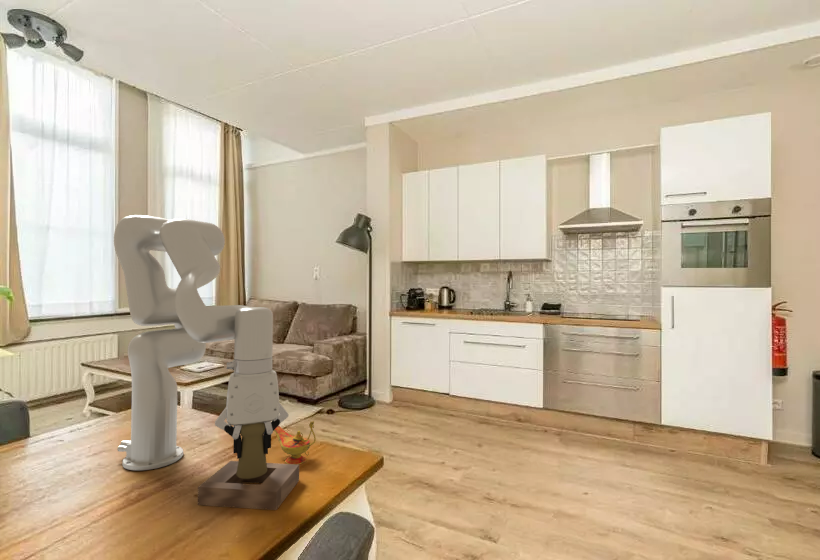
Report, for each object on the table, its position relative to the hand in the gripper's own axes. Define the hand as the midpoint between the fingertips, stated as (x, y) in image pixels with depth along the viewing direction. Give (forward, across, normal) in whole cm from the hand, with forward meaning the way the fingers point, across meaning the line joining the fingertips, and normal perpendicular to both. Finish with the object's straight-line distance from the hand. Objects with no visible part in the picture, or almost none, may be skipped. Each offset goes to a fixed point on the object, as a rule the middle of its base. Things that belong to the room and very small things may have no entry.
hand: (252, 452), depth 85 cm
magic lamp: (+8, +10, +14) cm, 19 cm away
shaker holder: (+8, 0, 0) cm, 8 cm away
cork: (+4, 0, 0) cm, 4 cm away
